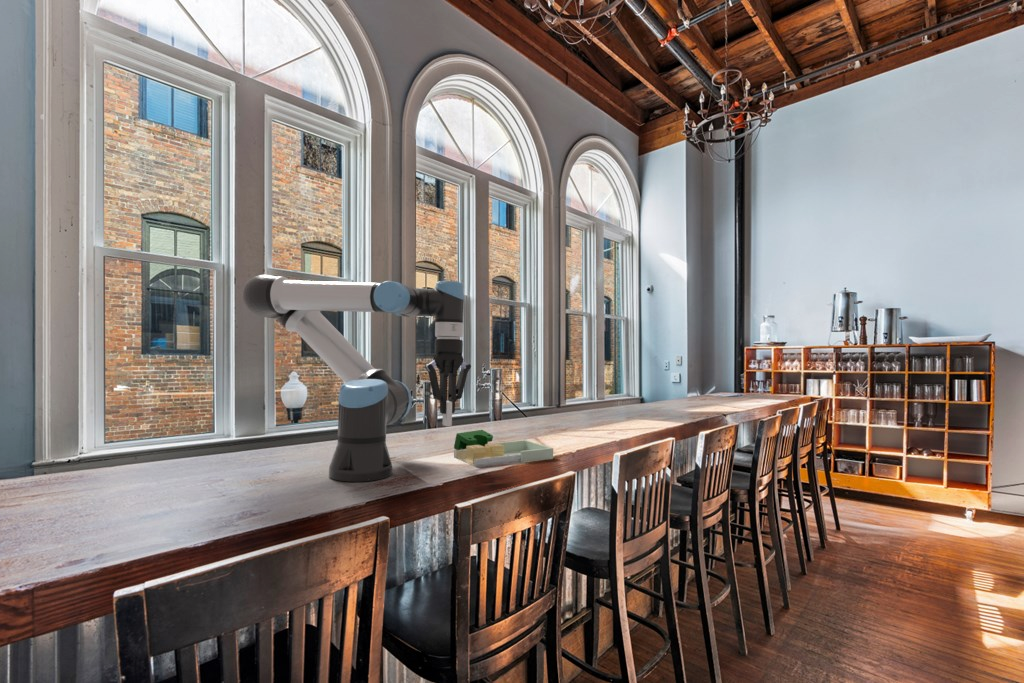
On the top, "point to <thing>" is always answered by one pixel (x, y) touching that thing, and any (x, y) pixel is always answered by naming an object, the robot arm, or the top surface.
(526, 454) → the tray
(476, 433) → the clamp
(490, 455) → the pale yellow cube
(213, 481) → the top surface
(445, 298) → the robot arm
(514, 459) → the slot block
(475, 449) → the chip
